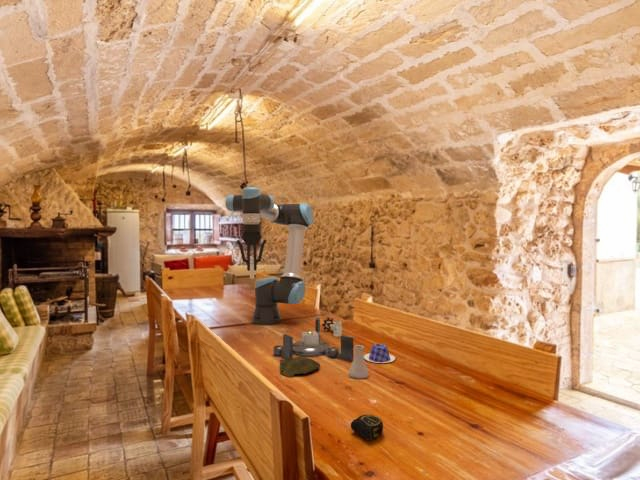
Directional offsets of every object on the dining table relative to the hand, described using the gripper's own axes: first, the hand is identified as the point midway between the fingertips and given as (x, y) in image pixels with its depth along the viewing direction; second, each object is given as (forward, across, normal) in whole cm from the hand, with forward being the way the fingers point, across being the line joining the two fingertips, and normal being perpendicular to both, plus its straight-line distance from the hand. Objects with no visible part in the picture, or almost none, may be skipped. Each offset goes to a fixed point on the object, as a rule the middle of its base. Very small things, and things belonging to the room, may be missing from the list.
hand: (252, 278), depth 174 cm
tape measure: (+29, +26, -83) cm, 92 cm away
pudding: (+29, +48, -30) cm, 63 cm away
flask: (+29, +35, -45) cm, 64 cm away
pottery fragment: (+29, +15, -35) cm, 48 cm away
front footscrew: (+28, +12, -21) cm, 37 cm away
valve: (+29, +38, +8) cm, 48 cm away
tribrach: (+28, +25, -13) cm, 40 cm away
